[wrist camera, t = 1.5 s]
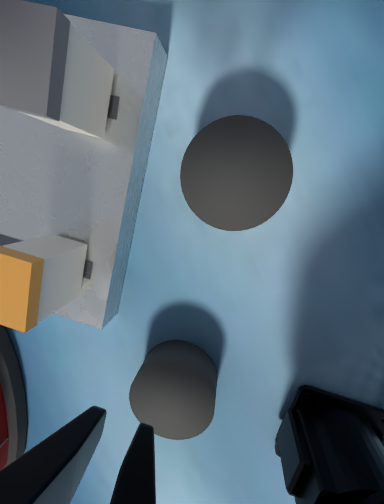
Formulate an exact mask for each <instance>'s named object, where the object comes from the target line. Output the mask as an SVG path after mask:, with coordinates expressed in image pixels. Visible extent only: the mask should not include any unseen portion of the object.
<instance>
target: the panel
mask: <svg viewBox="0 0 384 504" xmlns="http://www.w3.org/2000/svg"><path fill="white" fill-rule="evenodd" d="M64 15H65V16H66V17H67V18H68V19H69V20H70V24H71V25H72V26H73V27H74V28H75V29H76V30H77V31H78V32H79V33H80V34H81V35H82V37H83V38H84V39H85V40H86V41H87V42H88V43H89V44H90V45H91V46H92V47H93V48H94V49H95V50H96V51H97V52H98V53H99V54H100V55H101V56H102V57H103V58H104V59H105V60H106V61H107V62H108V63H109V65H110V66H111V67H112V68H113V69H114V75H113V82H112V88H111V95H110V101H109V108H108V114H107V121H106V127H105V134H104V139H101V138H97V137H93V136H89V135H85V134H81V133H77V132H73V131H69V130H65V129H63V128H60V127H58V126H55V125H52V124H50V123H47V122H45V121H42V120H39V119H37V118H34V117H31V116H29V115H26V114H24V113H21V112H18V111H15V110H11V109H7V108H4V107H2V106H0V246H3V245H7V244H12V243H16V242H21V241H25V240H30V239H34V238H39V237H43V236H48V235H52V234H54V235H57V236H61V237H64V238H68V239H71V240H74V241H78V242H81V243H85V244H88V245H87V252H86V258H85V265H84V271H83V278H82V284H81V291H80V295H79V296H78V297H76V298H75V299H73V300H72V301H70V302H69V303H67V304H66V305H64V306H63V307H61V308H60V309H58V310H56V311H55V312H53V314H56V315H59V316H62V317H65V318H68V319H71V320H74V321H77V322H80V323H83V324H86V325H90V326H93V327H96V328H99V329H103V328H104V327H105V326H106V325H107V324H108V323H109V322H110V321H111V319H112V318H113V317H114V316H115V315H116V314H117V313H118V307H119V302H120V297H121V292H122V287H123V282H124V277H125V272H126V267H127V262H128V256H129V251H130V246H131V241H132V236H133V231H134V226H135V221H136V216H137V211H138V206H139V200H140V195H141V190H142V185H143V180H144V175H145V170H146V165H147V160H148V155H149V149H150V144H151V139H152V134H153V129H154V124H155V119H156V114H157V109H158V104H159V99H160V93H161V88H162V83H163V78H164V73H165V68H166V63H167V58H168V57H167V54H166V52H165V50H164V48H163V46H162V44H161V42H160V40H159V38H158V36H157V34H156V33H155V32H150V31H145V30H141V29H136V28H131V27H126V26H121V25H116V24H111V23H106V22H102V21H97V20H92V19H87V18H82V17H77V16H72V15H67V14H64Z"/></svg>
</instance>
